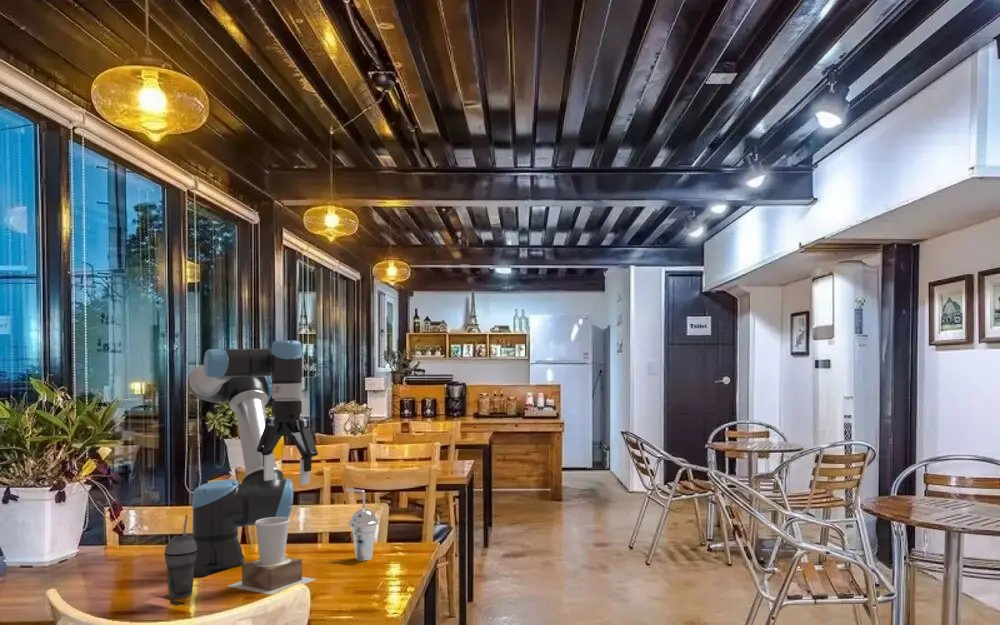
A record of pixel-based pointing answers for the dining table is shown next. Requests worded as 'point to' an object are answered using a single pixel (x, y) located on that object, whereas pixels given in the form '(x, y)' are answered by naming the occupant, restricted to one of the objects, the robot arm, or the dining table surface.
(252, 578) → the brown block
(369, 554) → the cup with straw
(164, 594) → the dining table surface
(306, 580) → the board
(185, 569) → the beverage cup
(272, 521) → the dixie cup
